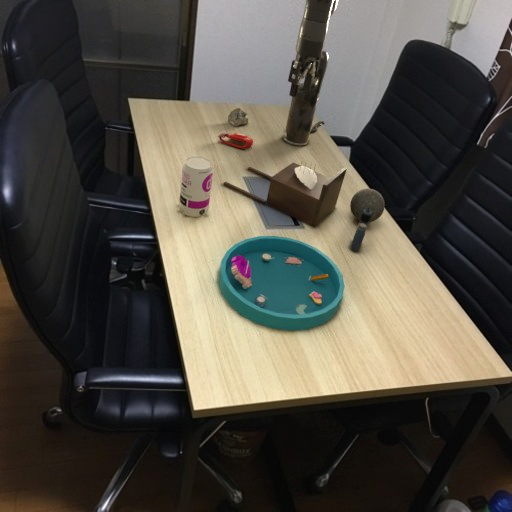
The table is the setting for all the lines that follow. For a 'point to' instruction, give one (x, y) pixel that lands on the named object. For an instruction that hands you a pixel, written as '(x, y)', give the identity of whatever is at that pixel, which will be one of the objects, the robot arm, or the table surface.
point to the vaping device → (361, 230)
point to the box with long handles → (299, 194)
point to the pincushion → (306, 176)
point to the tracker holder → (237, 137)
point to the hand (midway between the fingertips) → (299, 93)
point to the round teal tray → (281, 283)
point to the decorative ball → (367, 204)
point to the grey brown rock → (237, 117)
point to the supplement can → (195, 186)
